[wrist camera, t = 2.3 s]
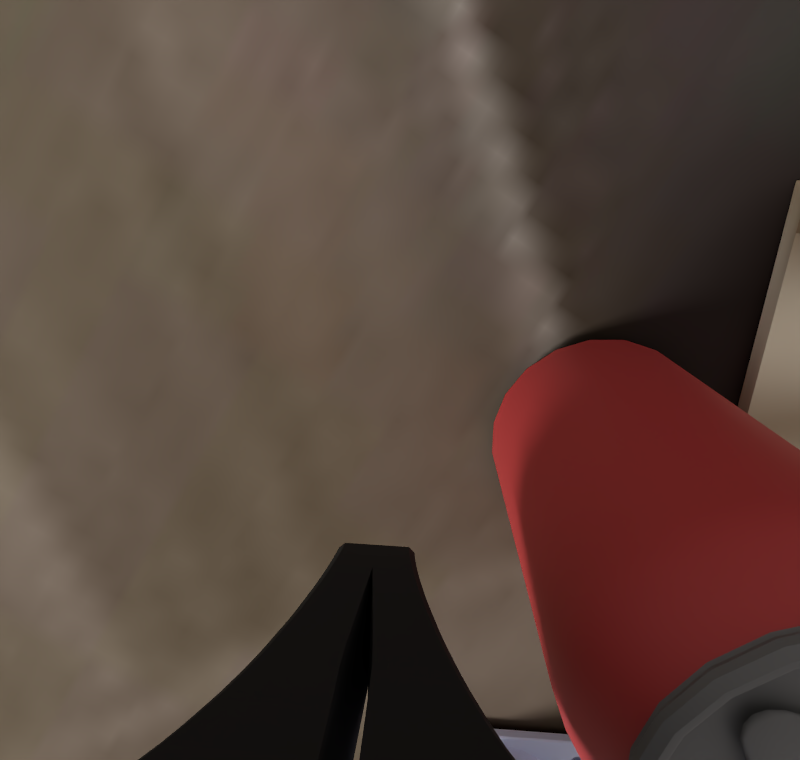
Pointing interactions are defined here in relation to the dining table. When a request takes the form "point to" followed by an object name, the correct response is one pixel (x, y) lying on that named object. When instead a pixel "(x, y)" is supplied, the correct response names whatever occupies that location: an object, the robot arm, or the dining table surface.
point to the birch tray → (779, 341)
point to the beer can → (655, 556)
